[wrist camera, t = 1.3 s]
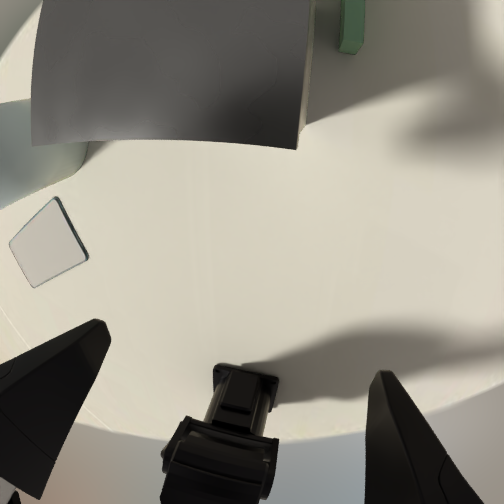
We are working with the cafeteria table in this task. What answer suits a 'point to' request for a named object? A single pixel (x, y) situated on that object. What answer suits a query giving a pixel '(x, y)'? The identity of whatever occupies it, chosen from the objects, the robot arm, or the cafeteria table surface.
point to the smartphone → (47, 245)
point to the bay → (351, 26)
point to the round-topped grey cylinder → (31, 156)
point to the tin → (172, 71)
